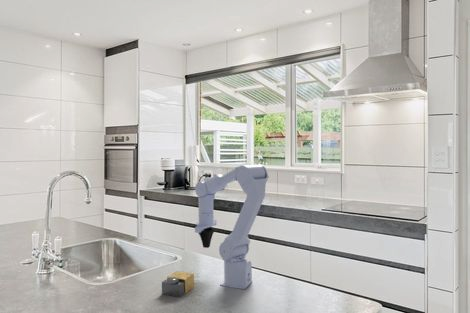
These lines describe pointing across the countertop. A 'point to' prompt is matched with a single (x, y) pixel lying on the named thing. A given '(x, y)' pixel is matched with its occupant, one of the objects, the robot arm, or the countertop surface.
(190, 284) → the coupler lock
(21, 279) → the countertop surface
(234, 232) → the robot arm
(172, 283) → the coupler
